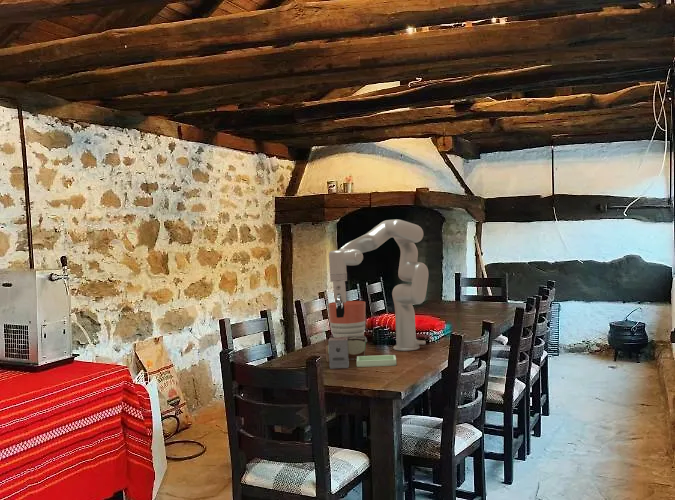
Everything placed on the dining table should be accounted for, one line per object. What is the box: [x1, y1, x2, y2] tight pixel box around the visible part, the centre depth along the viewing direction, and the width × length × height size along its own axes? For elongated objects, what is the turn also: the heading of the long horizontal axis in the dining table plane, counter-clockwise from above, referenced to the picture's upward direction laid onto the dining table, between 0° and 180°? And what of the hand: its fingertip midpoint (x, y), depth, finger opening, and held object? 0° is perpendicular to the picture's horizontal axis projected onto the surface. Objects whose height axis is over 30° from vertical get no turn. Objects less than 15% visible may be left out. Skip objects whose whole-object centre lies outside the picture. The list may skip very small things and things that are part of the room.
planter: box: [328, 300, 367, 337], centre depth 321 cm, size 20×20×21 cm
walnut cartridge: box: [325, 344, 329, 363], centre depth 276 cm, size 5×5×7 cm
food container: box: [345, 335, 368, 361], centre depth 281 cm, size 12×6×10 cm, turn 71°
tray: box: [355, 354, 397, 368], centre depth 266 cm, size 17×11×2 cm, turn 87°
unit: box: [327, 336, 350, 370], centre depth 264 cm, size 8×9×12 cm
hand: (340, 315), depth 274 cm, fingers open, 9 cm apart
